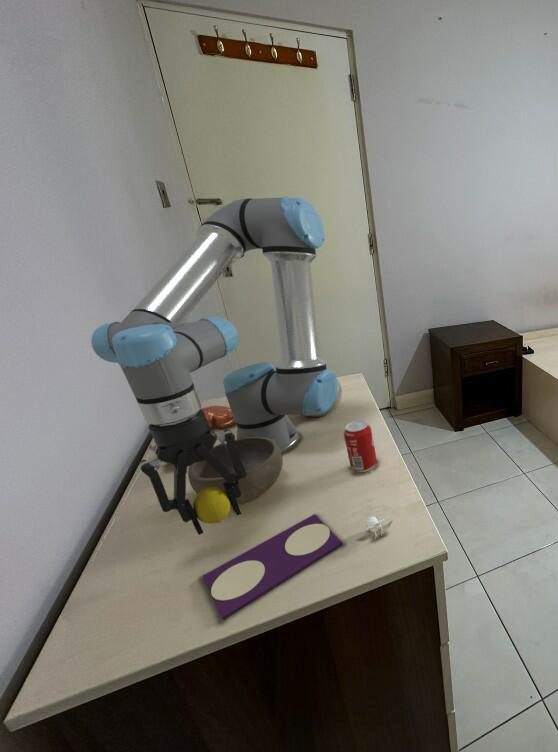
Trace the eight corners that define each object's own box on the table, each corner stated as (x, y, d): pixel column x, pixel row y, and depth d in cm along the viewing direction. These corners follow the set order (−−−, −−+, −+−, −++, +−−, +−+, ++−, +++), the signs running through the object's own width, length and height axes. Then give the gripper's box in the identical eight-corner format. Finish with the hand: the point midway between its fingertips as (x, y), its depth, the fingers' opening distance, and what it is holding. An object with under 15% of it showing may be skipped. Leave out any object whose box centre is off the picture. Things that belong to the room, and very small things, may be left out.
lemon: (212, 512, 79) (199, 480, 76) (241, 510, 79) (229, 478, 76) (194, 534, 74) (179, 500, 71) (225, 531, 74) (212, 497, 71)
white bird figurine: (387, 512, 84) (387, 499, 82) (397, 529, 82) (398, 516, 79) (349, 531, 79) (349, 518, 77) (360, 550, 77) (359, 538, 74)
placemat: (203, 578, 71) (202, 575, 71) (315, 516, 85) (314, 513, 85) (223, 619, 64) (222, 617, 63) (342, 544, 77) (341, 541, 77)
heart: (185, 406, 121) (184, 426, 110) (233, 397, 128) (237, 416, 117) (190, 423, 123) (189, 445, 112) (236, 414, 130) (240, 434, 119)
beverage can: (382, 461, 103) (375, 421, 98) (366, 476, 97) (358, 434, 93) (362, 457, 104) (354, 417, 100) (345, 471, 99) (336, 430, 94)
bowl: (278, 507, 88) (267, 469, 84) (185, 525, 83) (168, 487, 79) (294, 463, 103) (285, 429, 99) (216, 476, 98) (203, 442, 95)
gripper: (103, 448, 59) (162, 562, 68) (244, 402, 71) (277, 503, 80) (98, 431, 63) (153, 540, 72) (231, 391, 76) (264, 487, 85)
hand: (218, 520), depth 76 cm, fingers closed on lemon, 6 cm apart
